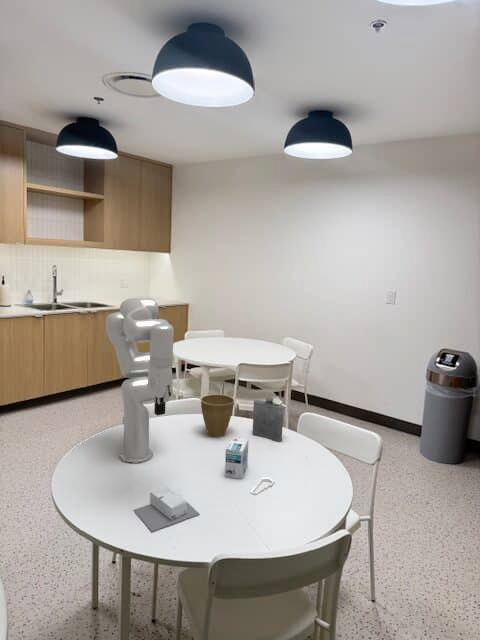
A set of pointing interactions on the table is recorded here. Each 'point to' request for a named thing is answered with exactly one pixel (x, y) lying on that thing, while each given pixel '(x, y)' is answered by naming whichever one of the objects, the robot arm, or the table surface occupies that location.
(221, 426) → the plant pot
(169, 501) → the skincare box
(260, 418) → the flask
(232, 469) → the light bulb box
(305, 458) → the table surface
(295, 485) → the table surface
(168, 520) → the mat
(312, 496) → the table surface
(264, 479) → the stepped key frame
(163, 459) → the table surface
